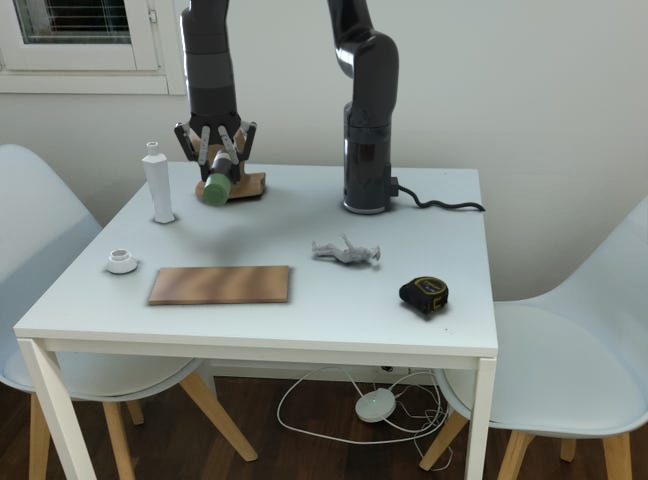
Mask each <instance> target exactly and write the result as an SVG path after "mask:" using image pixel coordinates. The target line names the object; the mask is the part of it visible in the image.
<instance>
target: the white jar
mask: <svg viewBox="0 0 648 480" xmlns="http://www.w3.org/2000/svg"><path fill="white" fill-rule="evenodd" d="M109 255H110V256H109V258H108V261H107V264H106V269H107V271H109V272H110V273H114V274H127V273H129V272H131V271H133V270H135V269H136V268H137V267H138V261H137V259H136V258H135V257H134V256H133V255H132V253H130V251H129V249H125V248H119V249H118V248H117V249H115V250H113V251H111V252H110V254H109Z"/></svg>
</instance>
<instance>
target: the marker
mask: <svg viewBox="0 0 648 480" xmlns="http://www.w3.org/2000/svg"><path fill="white" fill-rule="evenodd" d="M231 163H232V162H231V159H230V156H229V154H228V152H227V151H226V148H223V149H221V150H219V151H218V153H217V155H216V157H215V160H214V162H213V165H212V168H211V171H210V174H209V176H208V179H207V182H206V185H205V187H204V190H203V198H204V202H205V203H206V204H207V205H209V206H211V207H215V208H217V207H219V208H220V207H222V206H223V205H225V203H227V201H228V199H227V198H228V195H229V191H230V188H231V185H232V180H233V179H232V171H231Z"/></svg>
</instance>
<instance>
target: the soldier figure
mask: <svg viewBox="0 0 648 480" xmlns="http://www.w3.org/2000/svg"><path fill="white" fill-rule="evenodd" d="M339 236H340V237H341V238H342V240H343V241H344V244H345V246H346V247H347V248H346V249H343V250H342V249H340V248H339V247H338V246H336V245H334V244H333V243H326V244H323V245H320V244H319V245H316V240H312V241H311V246H312V248H311V252H312V253H315V252H317V256H318V257H321V256H329V255H333V256H334V257H335V258H336V259H338V260H339V262H342V263H344V264H347V263H351V262H353V261H355V260H357V261H359V260H360V261H368V260H369V259H370V258H371V259H373V260H376V262H379V260H380V259H381V255H382V253H381V248H380V245H379V244H377V245H376V246H375V247H374V248H373V247H371V249H368V248H367V247H364V246H358V247H357V246H354V245H353V244H352V243H351V242H350V241H349V239H348V238H347V236H346V234H344V233H343V232H341V233H340V235H339ZM371 250H372V251H371Z"/></svg>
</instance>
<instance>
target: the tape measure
mask: <svg viewBox="0 0 648 480" xmlns="http://www.w3.org/2000/svg"><path fill="white" fill-rule="evenodd" d="M449 293H450V290H449V287H448V285H447V283H446V282H445V281H444V280H443V279H440V278H437V277H435V276H429V275H427V276H426V275H424V276H419V277H415V278H413V279H412V280H410V281H409V282H407V283H405V284H403V285H401V286H400V287H399V289H398V296H399V299H401V300H402V301H403V302H404V303H406V304H408V305H409V306H411V307H413V308H414V309H416V310H417V311H418V312H420V313H421V314H422V315H424V316H429V315H431V314H433V312H437V311H441V310H442V309H443V308H444V307H445V306H446V305H447V304H448V303H449V301H448V300H449V295H450V294H449Z"/></svg>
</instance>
